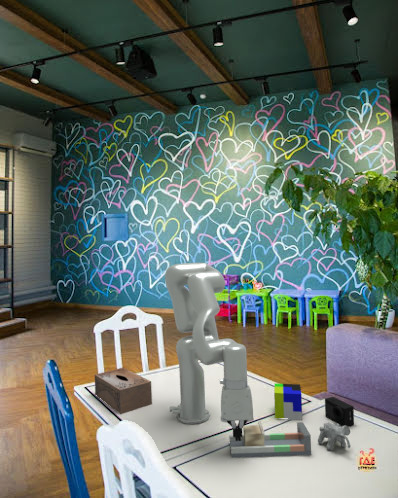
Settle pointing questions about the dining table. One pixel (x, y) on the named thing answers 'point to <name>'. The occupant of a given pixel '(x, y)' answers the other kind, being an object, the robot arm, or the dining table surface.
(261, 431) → the beige rectangular block
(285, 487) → the dining table surface
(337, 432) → the elephant statuette
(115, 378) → the tissue box cover
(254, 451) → the grey metal rail
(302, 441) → the grey angled bar
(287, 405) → the puzzle toy
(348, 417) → the digital camera
